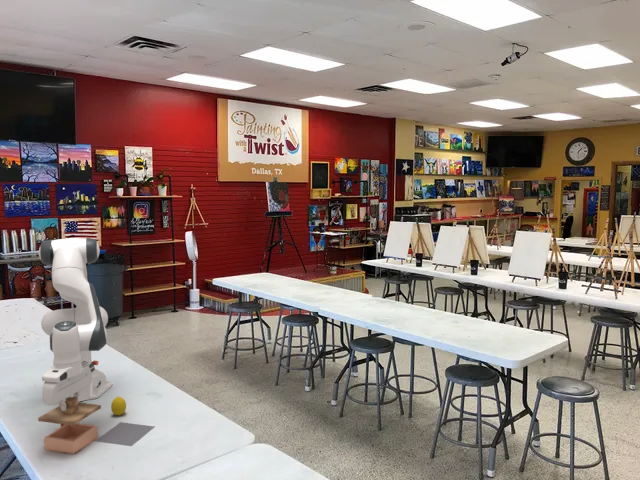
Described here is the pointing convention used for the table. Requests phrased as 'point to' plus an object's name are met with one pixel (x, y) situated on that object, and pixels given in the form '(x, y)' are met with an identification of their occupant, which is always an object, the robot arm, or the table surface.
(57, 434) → the pink shallow box
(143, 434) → the mat
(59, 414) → the lid
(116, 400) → the lemon
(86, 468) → the table surface
